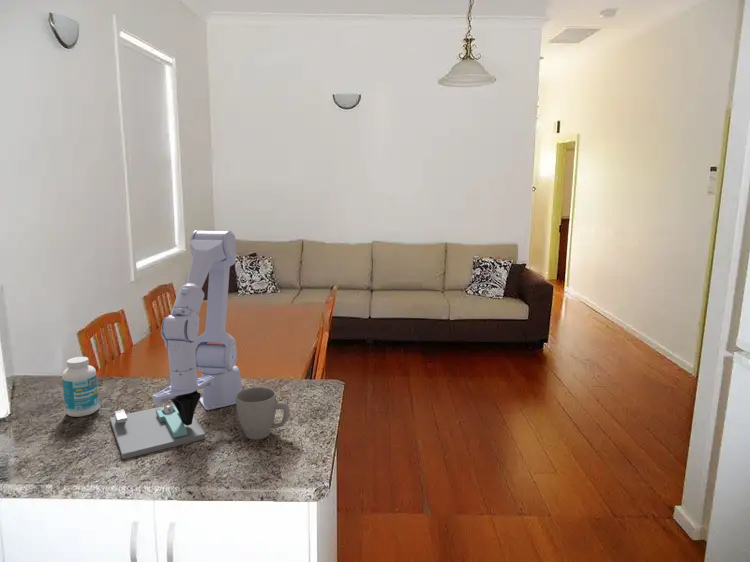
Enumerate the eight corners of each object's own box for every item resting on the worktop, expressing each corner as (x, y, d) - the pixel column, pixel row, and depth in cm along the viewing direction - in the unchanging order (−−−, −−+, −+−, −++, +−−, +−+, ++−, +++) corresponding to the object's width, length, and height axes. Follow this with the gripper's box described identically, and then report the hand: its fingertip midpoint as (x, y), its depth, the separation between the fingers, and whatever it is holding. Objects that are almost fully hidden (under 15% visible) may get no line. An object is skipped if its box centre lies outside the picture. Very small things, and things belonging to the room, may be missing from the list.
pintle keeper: (170, 414, 136) (169, 399, 135) (175, 422, 131) (173, 407, 131) (115, 426, 130) (114, 411, 129) (119, 435, 125) (117, 419, 124)
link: (156, 414, 133) (155, 409, 132) (177, 409, 135) (176, 405, 135) (169, 439, 121) (168, 433, 120) (191, 433, 123) (191, 428, 123)
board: (184, 406, 141) (183, 401, 140) (205, 438, 124) (205, 433, 124) (110, 422, 132) (109, 417, 132) (122, 459, 115) (122, 454, 115)
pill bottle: (76, 420, 133) (70, 367, 130) (59, 413, 136) (53, 361, 134) (106, 409, 139) (100, 358, 136) (88, 402, 143) (83, 352, 140)
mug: (231, 441, 123) (229, 401, 121) (246, 423, 131) (244, 385, 129) (284, 446, 121) (282, 404, 119) (295, 427, 129) (294, 388, 127)
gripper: (200, 355, 132) (203, 408, 135) (142, 372, 121) (148, 430, 123) (218, 361, 128) (221, 416, 130) (160, 380, 116) (165, 439, 119)
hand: (187, 423), depth 127 cm, fingers closed, pressing on link
